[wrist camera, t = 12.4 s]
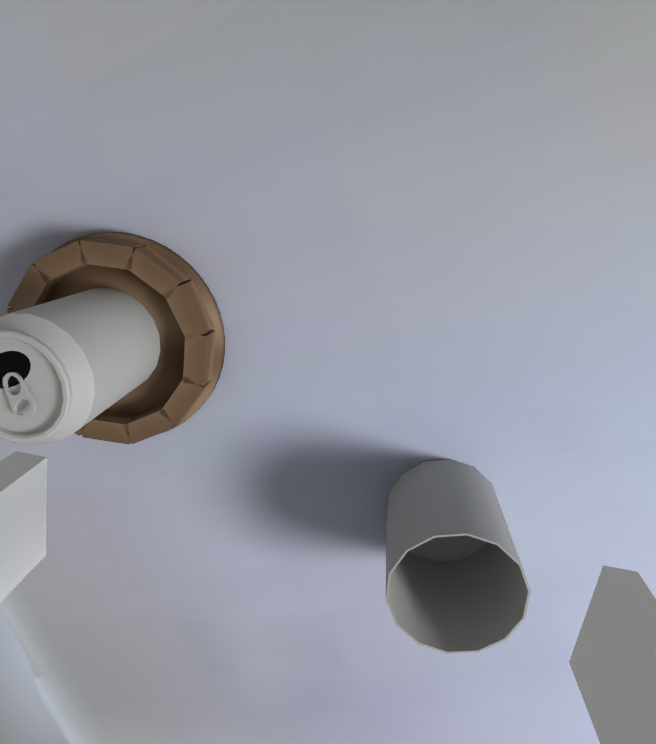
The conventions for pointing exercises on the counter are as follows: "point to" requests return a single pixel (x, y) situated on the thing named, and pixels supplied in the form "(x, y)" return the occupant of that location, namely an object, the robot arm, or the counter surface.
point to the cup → (451, 560)
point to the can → (71, 362)
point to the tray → (167, 308)
